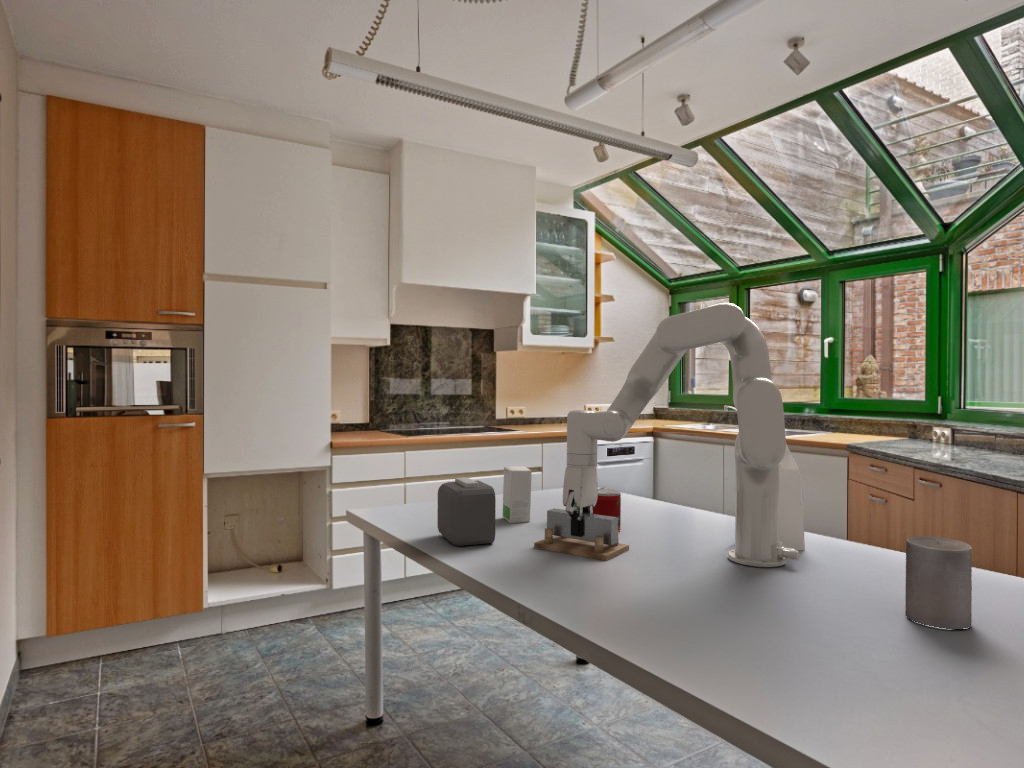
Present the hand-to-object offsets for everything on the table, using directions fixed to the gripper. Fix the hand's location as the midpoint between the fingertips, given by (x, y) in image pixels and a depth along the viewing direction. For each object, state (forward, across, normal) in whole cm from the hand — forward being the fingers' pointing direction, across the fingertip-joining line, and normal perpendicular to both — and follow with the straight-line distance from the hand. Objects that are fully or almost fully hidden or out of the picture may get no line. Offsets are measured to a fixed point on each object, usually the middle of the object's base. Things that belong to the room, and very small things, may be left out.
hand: (581, 533), depth 161 cm
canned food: (+4, -21, -4) cm, 22 cm away
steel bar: (+1, 0, 0) cm, 1 cm away
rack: (+4, 0, 0) cm, 4 cm away
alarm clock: (+4, +10, -29) cm, 31 cm away
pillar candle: (+4, +6, +74) cm, 74 cm away
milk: (+4, -34, +37) cm, 50 cm away
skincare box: (+4, -18, -32) cm, 37 cm away
